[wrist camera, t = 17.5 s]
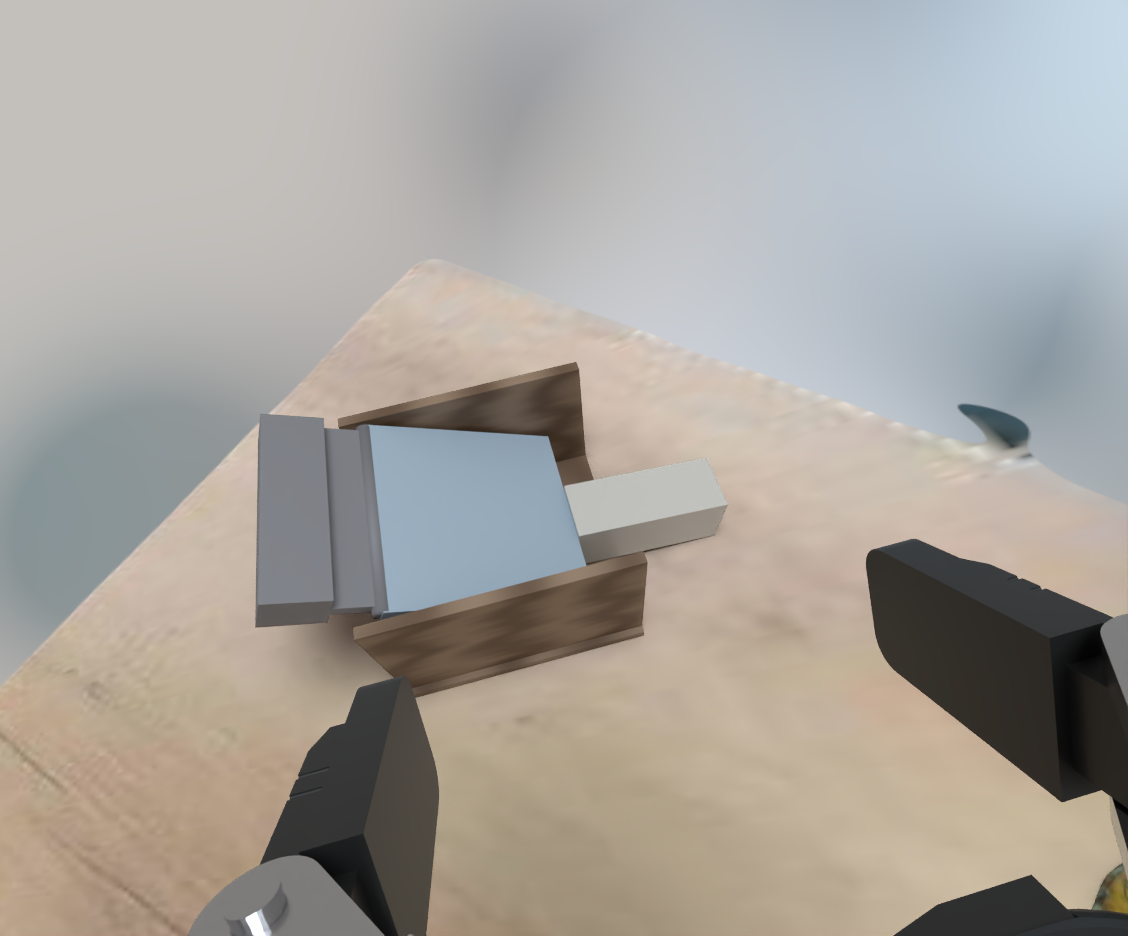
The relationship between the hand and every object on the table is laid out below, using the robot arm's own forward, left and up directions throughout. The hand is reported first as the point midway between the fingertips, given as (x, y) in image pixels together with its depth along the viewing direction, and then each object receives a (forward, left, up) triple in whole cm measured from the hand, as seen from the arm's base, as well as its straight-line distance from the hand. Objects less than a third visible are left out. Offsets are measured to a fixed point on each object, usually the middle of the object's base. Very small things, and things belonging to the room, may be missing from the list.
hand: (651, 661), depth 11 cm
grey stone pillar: (+2, +21, -35) cm, 41 cm away
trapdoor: (-9, +22, -30) cm, 38 cm away
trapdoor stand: (-4, +22, -39) cm, 44 cm away
